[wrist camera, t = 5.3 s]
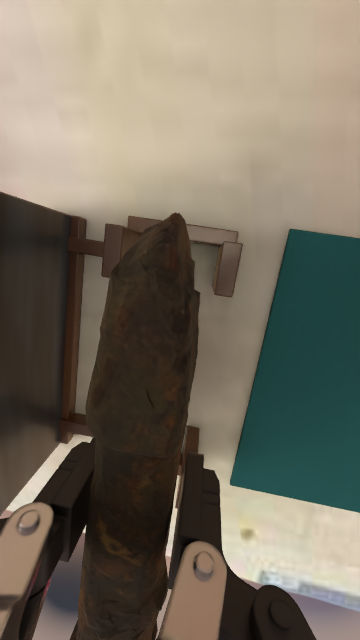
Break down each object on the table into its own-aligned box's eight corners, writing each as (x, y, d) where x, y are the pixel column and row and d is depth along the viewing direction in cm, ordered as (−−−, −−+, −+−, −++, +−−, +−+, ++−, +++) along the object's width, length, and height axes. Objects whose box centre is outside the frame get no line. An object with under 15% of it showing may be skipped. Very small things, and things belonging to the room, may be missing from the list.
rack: (236, 233, 21) (507, -35, 2) (192, 466, 27) (150, 1001, 7) (43, 205, 23) (-951, -136, 3) (37, 434, 28) (-349, 823, 9)
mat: (459, 253, 20) (464, 253, 20) (359, 509, 26) (362, 513, 25) (289, 229, 21) (290, 228, 21) (229, 481, 27) (230, 485, 26)
